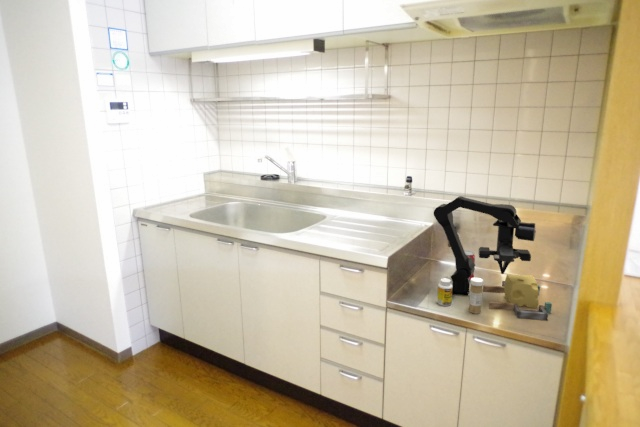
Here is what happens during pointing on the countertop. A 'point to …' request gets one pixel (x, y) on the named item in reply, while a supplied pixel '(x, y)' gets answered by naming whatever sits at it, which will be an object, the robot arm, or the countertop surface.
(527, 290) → the cheese
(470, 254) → the soda can
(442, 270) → the countertop surface
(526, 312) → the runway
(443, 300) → the supplement bottle
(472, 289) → the sprinkles bottle
